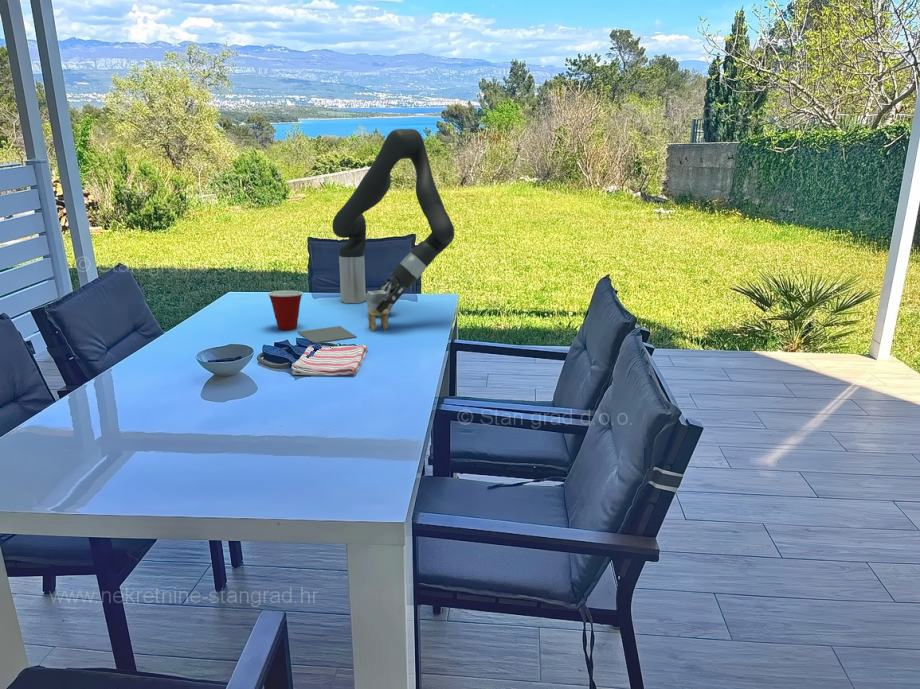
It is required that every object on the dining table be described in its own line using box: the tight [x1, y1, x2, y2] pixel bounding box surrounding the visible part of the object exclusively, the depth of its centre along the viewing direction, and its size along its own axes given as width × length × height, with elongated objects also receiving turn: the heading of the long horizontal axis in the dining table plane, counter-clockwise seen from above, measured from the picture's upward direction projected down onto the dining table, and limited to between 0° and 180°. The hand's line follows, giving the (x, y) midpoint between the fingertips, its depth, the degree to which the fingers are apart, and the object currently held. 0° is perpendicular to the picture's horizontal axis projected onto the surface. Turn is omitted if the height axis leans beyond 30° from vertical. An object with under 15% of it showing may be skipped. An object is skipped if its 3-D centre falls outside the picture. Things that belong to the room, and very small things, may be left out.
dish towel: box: [290, 344, 369, 377], centre depth 182 cm, size 17×23×4 cm
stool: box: [366, 290, 390, 332], centre depth 214 cm, size 6×6×12 cm
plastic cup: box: [267, 290, 304, 331], centre depth 214 cm, size 11×11×12 cm
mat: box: [297, 325, 357, 344], centre depth 208 cm, size 14×14×1 cm
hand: (374, 308), depth 213 cm, fingers open, 8 cm apart
